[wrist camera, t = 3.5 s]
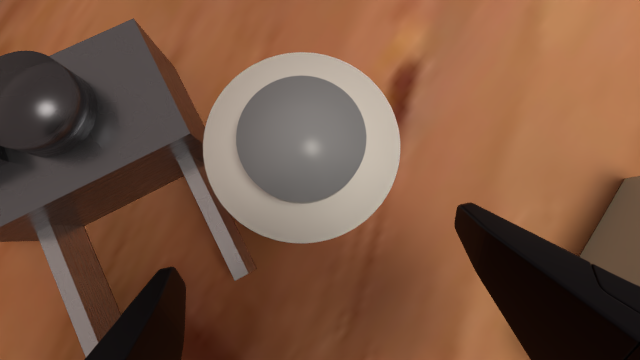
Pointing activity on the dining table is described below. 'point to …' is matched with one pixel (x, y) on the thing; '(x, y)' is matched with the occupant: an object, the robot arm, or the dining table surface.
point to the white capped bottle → (301, 147)
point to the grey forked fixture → (97, 157)
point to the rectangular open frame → (619, 234)
